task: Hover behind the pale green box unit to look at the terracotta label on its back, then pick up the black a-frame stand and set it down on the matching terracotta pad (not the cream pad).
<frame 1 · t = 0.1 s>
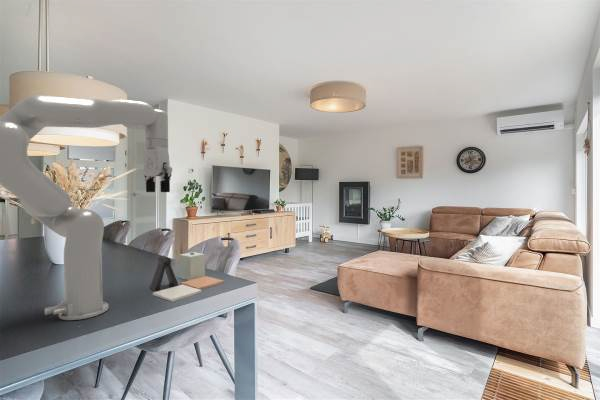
hand: (157, 192, 115), 37 cm above the table, tool pointing down, fingers open, 9 cm apart
pad terracotta: (202, 283, 126), on the table
unit: (192, 277, 135), on the table
black a-frame stand: (164, 288, 121), on the table
pad cream: (177, 293, 114), on the table
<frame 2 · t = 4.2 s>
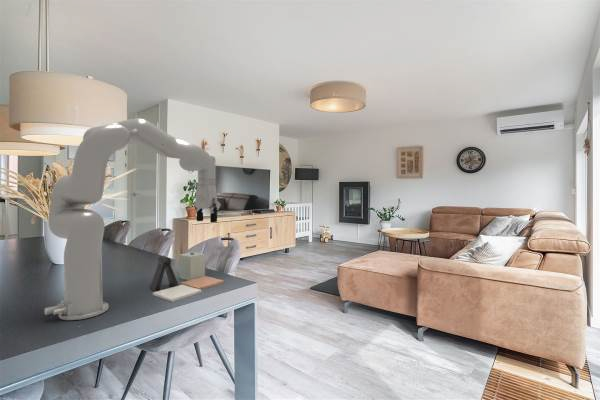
hand: (206, 221, 141), 23 cm above the table, tool pointing down, fingers open, 9 cm apart
nothing on the table moved.
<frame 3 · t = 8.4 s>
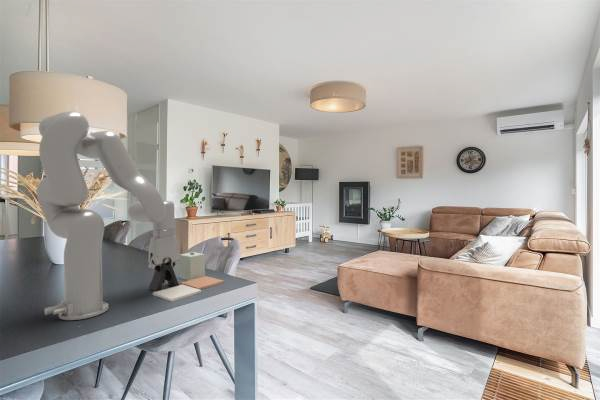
hand: (164, 281, 120), 3 cm above the table, tool pointing down, fingers closed on black a-frame stand
black a-frame stand: (164, 288, 121), on the table, touching gripper
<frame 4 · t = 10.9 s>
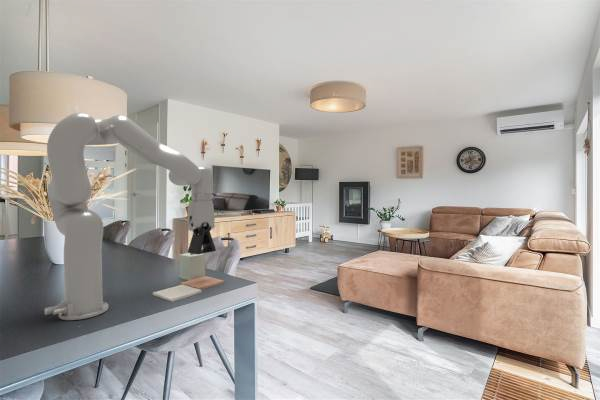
hand: (202, 244, 126), 16 cm above the table, tool pointing down, fingers closed on black a-frame stand
black a-frame stand: (202, 252, 126), point 13 cm above the table, touching gripper
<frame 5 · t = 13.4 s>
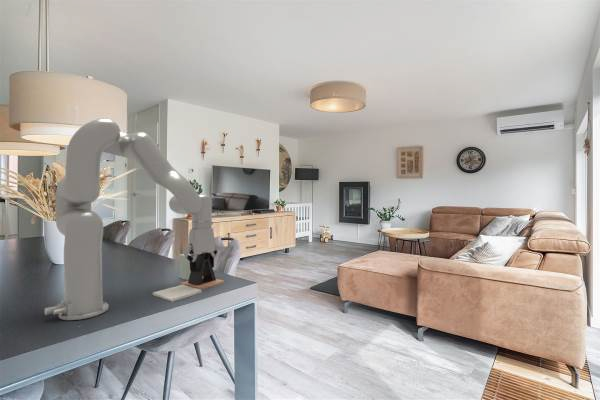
hand: (202, 268, 126), 6 cm above the table, tool pointing down, fingers open, 7 cm apart
black a-frame stand: (202, 282, 126), point 1 cm above the table, touching pad terracotta
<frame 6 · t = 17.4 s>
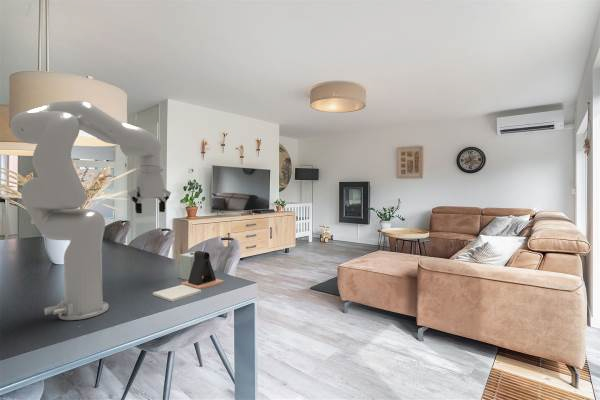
hand: (150, 212, 129), 28 cm above the table, tool pointing down, fingers open, 9 cm apart
nothing on the table moved.
at the end: black a-frame stand inside the target area on the pad terracotta (0.2 cm from its centre), point 0.6 cm above the pad terracotta's base; black a-frame stand tilted 0°; the gripper is holding nothing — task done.
